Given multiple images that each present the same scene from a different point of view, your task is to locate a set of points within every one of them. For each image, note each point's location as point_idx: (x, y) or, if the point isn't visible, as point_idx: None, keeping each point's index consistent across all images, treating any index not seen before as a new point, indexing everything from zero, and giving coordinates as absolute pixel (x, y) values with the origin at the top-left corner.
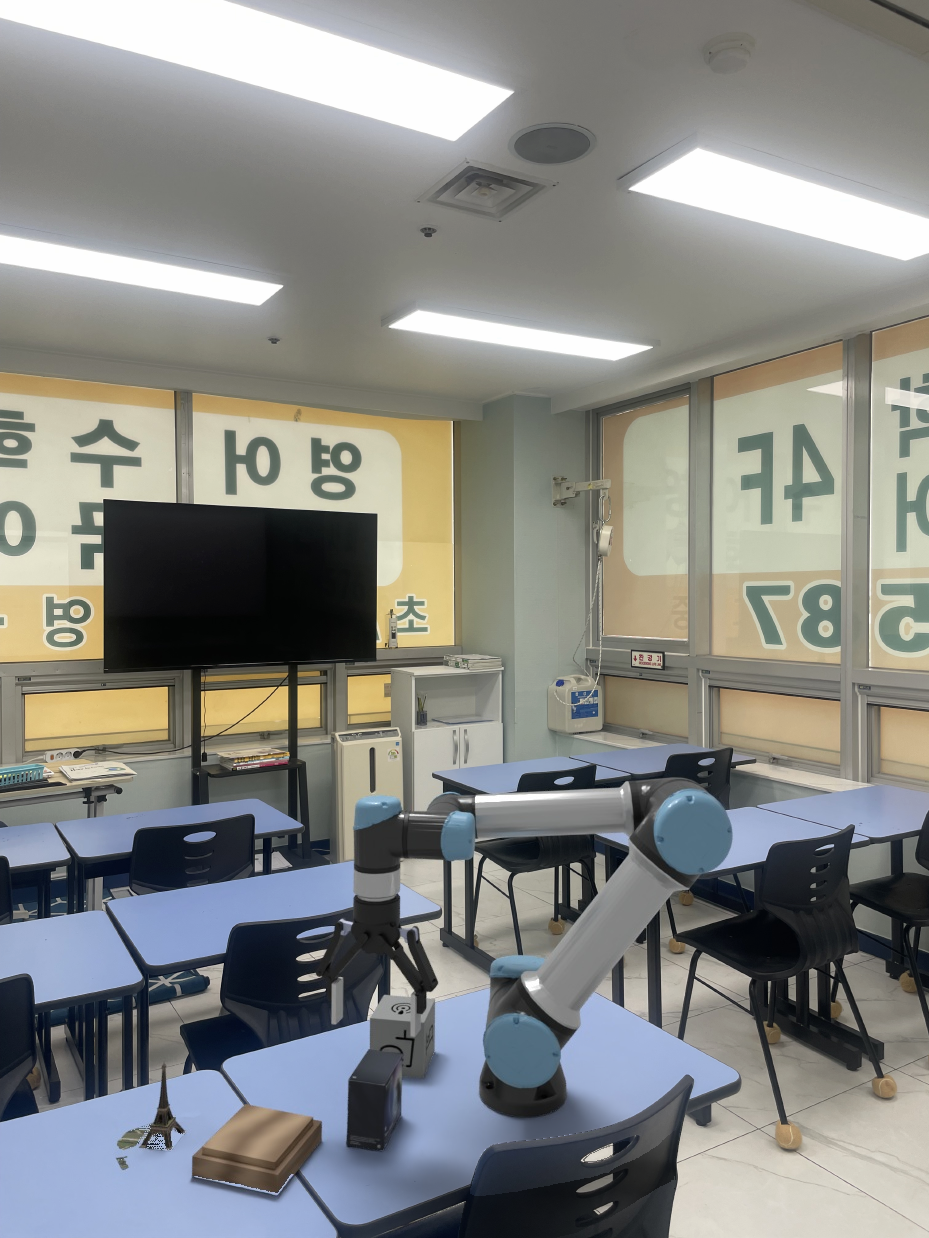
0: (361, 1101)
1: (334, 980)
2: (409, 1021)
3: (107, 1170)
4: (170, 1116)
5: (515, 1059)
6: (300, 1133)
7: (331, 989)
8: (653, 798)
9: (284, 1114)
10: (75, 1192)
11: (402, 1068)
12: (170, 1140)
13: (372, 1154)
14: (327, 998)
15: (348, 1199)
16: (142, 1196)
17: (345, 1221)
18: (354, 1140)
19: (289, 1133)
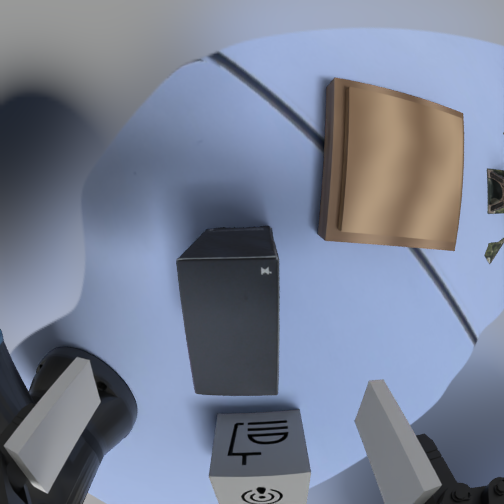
0: (240, 244)
1: (430, 501)
2: (235, 476)
3: None
4: None
5: None
6: (345, 178)
7: (429, 468)
8: None
9: (392, 227)
10: None
11: (249, 420)
12: (495, 178)
13: (219, 218)
14: (428, 438)
15: (217, 102)
16: (468, 81)
17: (205, 62)
18: (255, 228)
19: (363, 170)
